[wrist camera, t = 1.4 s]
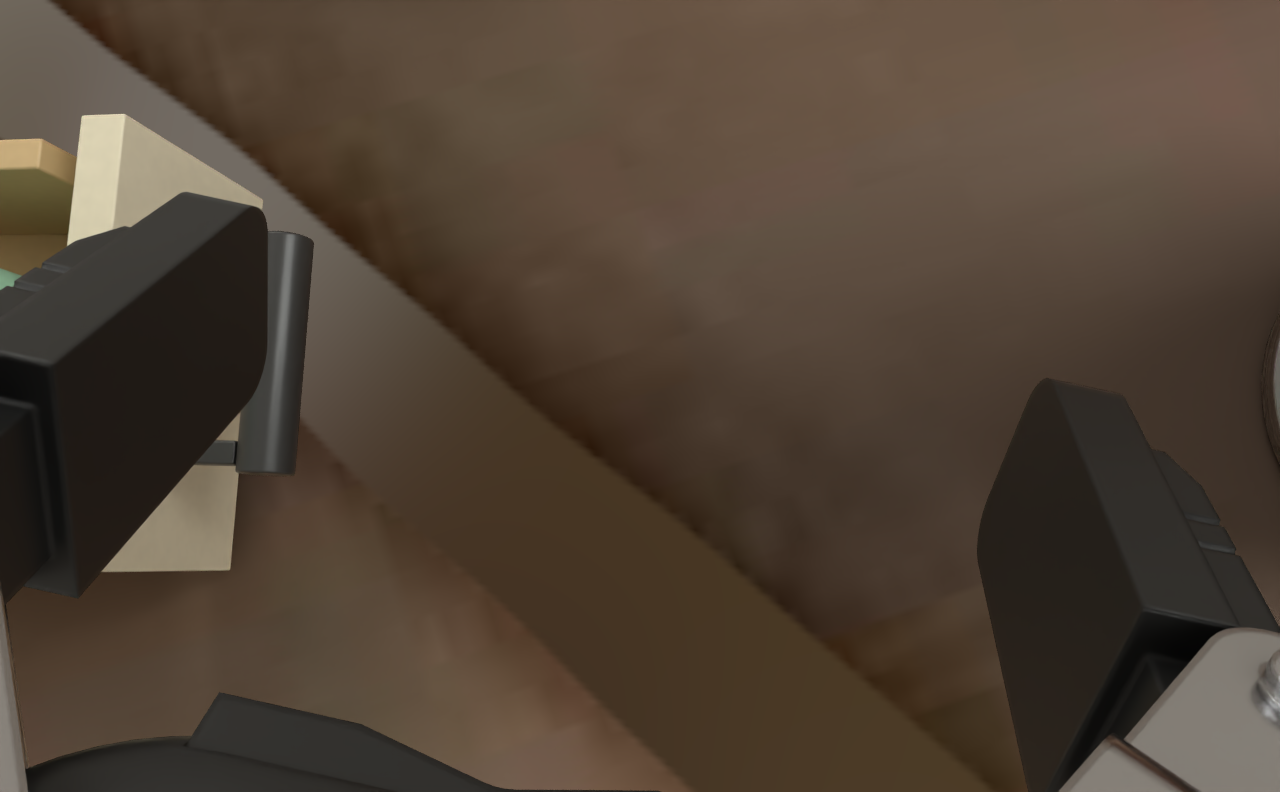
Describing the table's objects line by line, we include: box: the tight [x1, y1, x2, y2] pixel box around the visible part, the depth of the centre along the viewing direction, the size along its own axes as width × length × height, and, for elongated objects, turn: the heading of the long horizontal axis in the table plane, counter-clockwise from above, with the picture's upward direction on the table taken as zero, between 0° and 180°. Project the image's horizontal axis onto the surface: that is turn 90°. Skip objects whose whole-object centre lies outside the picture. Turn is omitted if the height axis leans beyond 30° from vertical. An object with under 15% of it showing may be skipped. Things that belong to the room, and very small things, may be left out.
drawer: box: [0, 114, 314, 572], centre depth 30 cm, size 16×11×7 cm
